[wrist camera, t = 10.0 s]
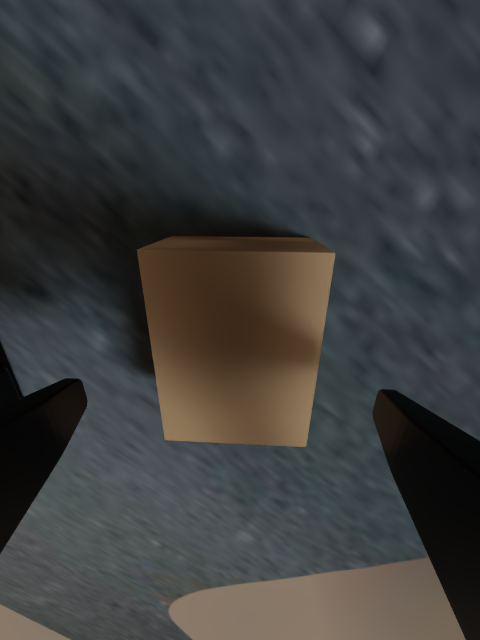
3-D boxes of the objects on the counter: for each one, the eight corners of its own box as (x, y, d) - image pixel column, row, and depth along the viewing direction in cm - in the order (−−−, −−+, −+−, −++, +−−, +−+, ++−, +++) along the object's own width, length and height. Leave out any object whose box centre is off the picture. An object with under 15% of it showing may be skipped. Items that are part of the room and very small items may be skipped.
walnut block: (187, 382, 15) (165, 439, 11) (173, 235, 12) (136, 249, 8) (293, 386, 15) (306, 447, 11) (309, 237, 11) (335, 252, 8)
